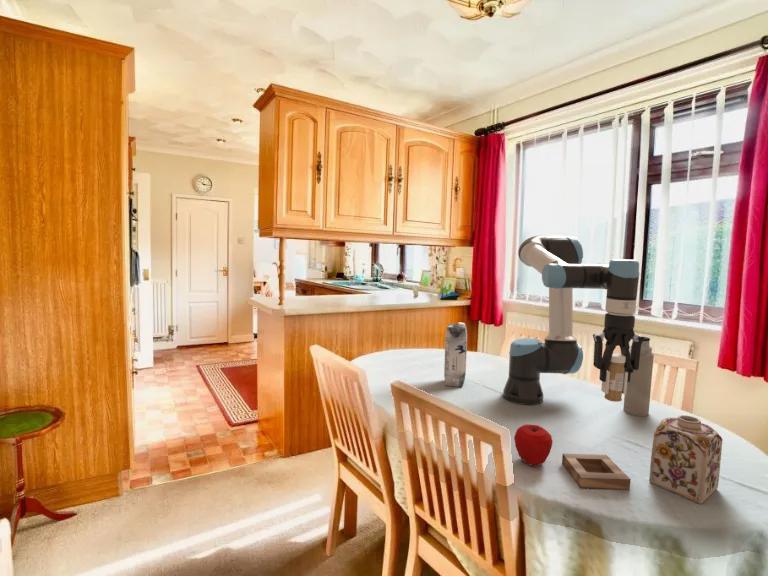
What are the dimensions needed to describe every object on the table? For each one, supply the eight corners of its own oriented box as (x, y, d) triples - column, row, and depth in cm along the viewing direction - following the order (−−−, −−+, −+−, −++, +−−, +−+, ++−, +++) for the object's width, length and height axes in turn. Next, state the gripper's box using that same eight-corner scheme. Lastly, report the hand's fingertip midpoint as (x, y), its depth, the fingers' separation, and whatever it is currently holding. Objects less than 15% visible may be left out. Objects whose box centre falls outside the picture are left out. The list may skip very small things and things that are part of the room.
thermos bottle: (620, 406, 158) (626, 334, 155) (644, 408, 156) (650, 335, 153) (626, 414, 150) (633, 338, 147) (651, 417, 148) (658, 340, 145)
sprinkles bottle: (600, 396, 123) (604, 352, 122) (615, 396, 124) (618, 352, 122) (610, 402, 119) (614, 357, 117) (625, 402, 119) (629, 356, 118)
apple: (507, 462, 116) (509, 424, 115) (523, 450, 123) (525, 415, 122) (541, 476, 109) (543, 437, 108) (556, 463, 116) (559, 426, 115)
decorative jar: (702, 506, 98) (709, 433, 96) (647, 482, 107) (653, 415, 105) (719, 489, 105) (726, 420, 103) (666, 468, 114) (672, 405, 112)
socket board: (561, 463, 116) (562, 453, 115) (605, 465, 115) (606, 454, 115) (580, 488, 104) (581, 477, 103) (629, 490, 103) (630, 479, 103)
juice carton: (443, 386, 177) (445, 324, 174) (445, 378, 187) (447, 319, 184) (464, 388, 175) (466, 325, 172) (465, 380, 185) (467, 320, 182)
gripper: (595, 315, 115) (589, 396, 118) (659, 316, 114) (651, 397, 117) (583, 310, 122) (577, 386, 125) (643, 311, 122) (636, 388, 125)
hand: (613, 392), depth 121 cm, fingers closed on sprinkles bottle, 4 cm apart
